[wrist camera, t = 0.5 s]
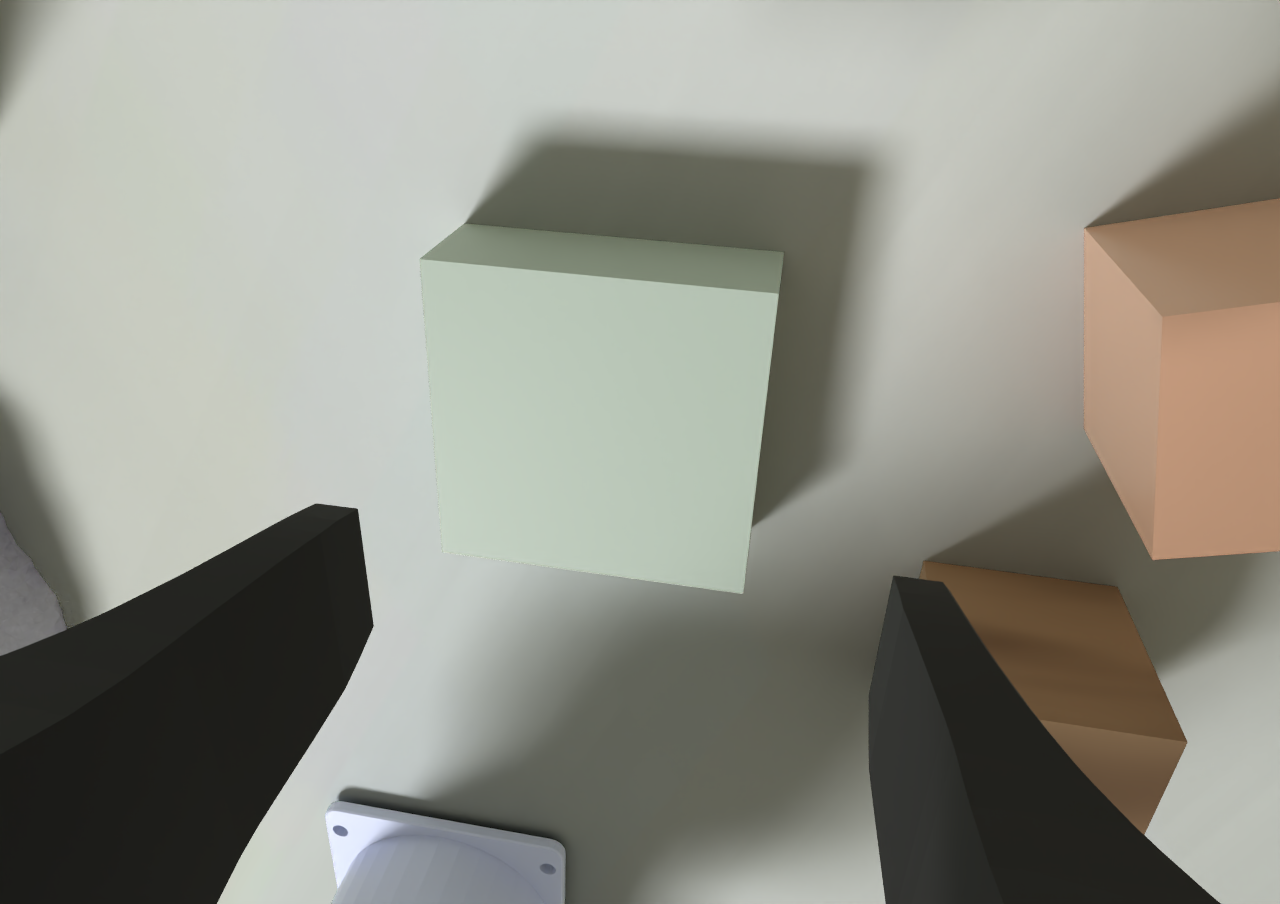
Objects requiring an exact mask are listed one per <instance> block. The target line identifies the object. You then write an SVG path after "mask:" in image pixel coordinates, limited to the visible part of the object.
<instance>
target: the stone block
mask: <svg viewBox="0 0 1280 904" xmlns="http://www.w3.org/2000/svg"><path fill="white" fill-rule="evenodd" d="M65 630H67V628H66V625H65V621H64V619H63V614H62V609H61V608H60V606H59V603H58V600H57V597H56V595H55V593H54V592H53V591H52V590H51V589H50V587H49V586H48V585H47V583H46V582H45V581H44V579H43V578H42V577H41V575H40V574H39V573H38V571H37V570H36V568H35V567H34V565H33V562H32V560H31V559H30V558H29V557H28V556H27V555H26V554H25V553H24V552H23V550H22V549H21V548H20V547H19V546H18V545H17V544H16V542H15V540H14V538H13V536H12V534H11V532H10V531H9V529H8V528H7V525H6V522H5V519H4V516H3V515H2V514H1V512H0V656H1V655H4V654H7V653H10V652H12V651H15V650H17V649H20V648H23V647H25V646H28V645H30V644H33V643H35V642H37V641H40V640H42V639H45V638H47V637H50V636H52V635H55V634H57V633H60V632H62V631H65Z"/></svg>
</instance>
